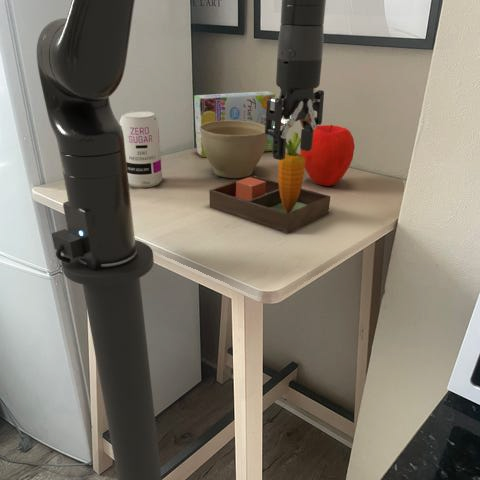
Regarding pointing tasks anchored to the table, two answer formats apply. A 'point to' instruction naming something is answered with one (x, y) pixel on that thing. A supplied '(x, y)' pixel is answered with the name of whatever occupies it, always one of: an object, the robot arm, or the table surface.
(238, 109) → the snack box
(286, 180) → the carrot
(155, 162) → the supplement can
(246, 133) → the planter bowl
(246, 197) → the terracotta block
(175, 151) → the table surface
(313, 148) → the apple
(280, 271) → the table surface
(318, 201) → the sorting tray
